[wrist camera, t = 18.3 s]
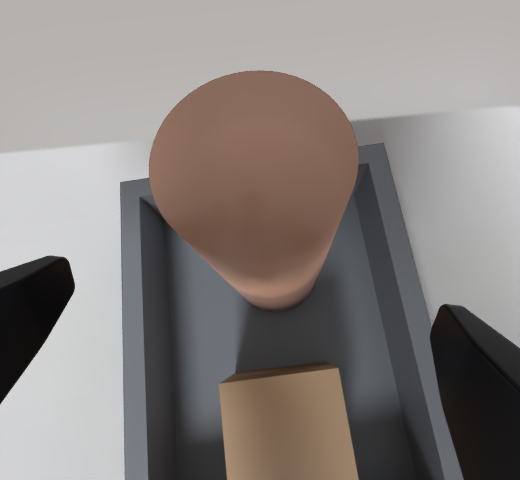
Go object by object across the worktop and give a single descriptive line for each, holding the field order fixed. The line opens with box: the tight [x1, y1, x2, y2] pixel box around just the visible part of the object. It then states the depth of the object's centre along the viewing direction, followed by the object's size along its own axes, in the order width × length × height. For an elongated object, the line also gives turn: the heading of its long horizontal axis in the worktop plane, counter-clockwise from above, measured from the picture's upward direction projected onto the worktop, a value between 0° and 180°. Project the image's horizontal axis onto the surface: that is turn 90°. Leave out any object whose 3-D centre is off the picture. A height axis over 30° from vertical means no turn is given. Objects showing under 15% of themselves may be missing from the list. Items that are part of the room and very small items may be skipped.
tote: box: [120, 143, 464, 480], centre depth 18 cm, size 18×14×5 cm
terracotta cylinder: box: [149, 71, 359, 312], centre depth 15 cm, size 5×5×13 cm
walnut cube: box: [219, 361, 359, 480], centre depth 16 cm, size 5×5×5 cm
